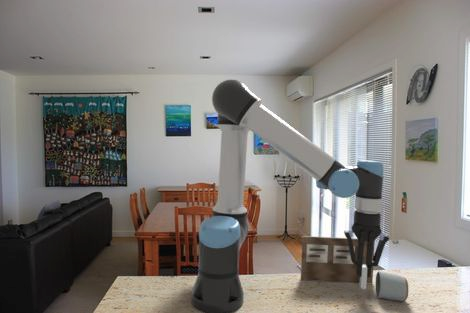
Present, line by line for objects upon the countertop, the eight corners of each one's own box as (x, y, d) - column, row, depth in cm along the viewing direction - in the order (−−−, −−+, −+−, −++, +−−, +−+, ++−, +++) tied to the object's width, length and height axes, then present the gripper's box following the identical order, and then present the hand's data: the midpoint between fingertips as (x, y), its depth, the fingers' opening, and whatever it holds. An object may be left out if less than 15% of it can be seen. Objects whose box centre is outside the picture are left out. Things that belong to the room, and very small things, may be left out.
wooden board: (301, 280, 108) (303, 236, 107) (300, 279, 109) (302, 236, 108) (372, 284, 107) (375, 240, 106) (371, 282, 108) (373, 239, 107)
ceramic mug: (409, 306, 92) (410, 280, 92) (379, 302, 94) (380, 276, 94) (399, 290, 103) (400, 267, 103) (372, 287, 105) (373, 264, 104)
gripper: (387, 210, 99) (382, 284, 100) (343, 206, 102) (339, 279, 103) (393, 215, 92) (388, 295, 92) (346, 211, 94) (342, 289, 95)
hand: (362, 286), depth 98 cm, fingers closed
